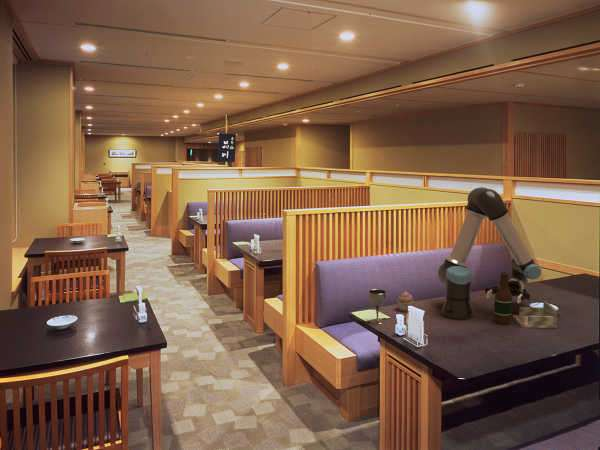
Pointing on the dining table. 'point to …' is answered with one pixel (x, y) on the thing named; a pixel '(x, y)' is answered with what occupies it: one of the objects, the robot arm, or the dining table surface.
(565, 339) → the dining table surface
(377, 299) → the wine glass
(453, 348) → the dining table surface
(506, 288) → the beer bottle
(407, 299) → the cupcake
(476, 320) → the dining table surface
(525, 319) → the wooden display stand
